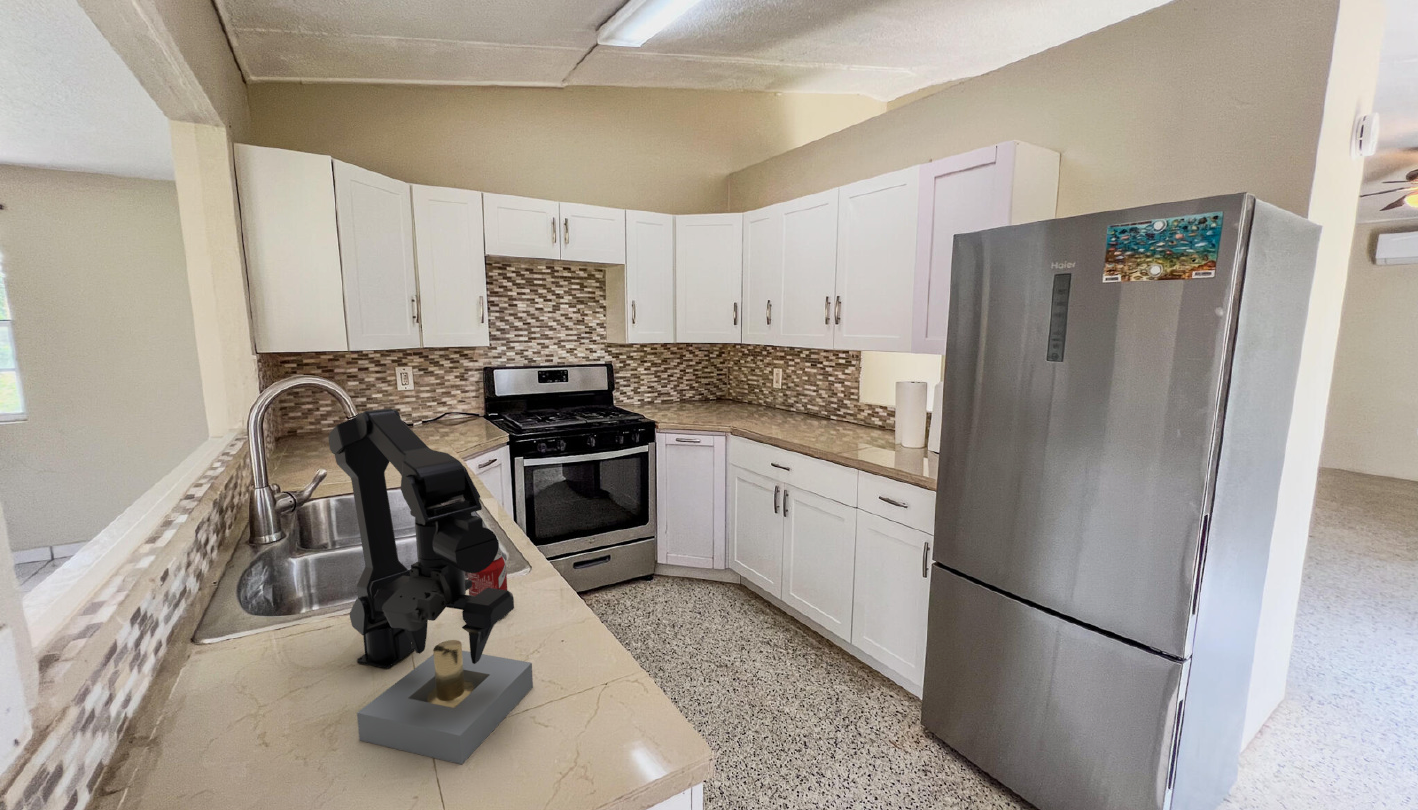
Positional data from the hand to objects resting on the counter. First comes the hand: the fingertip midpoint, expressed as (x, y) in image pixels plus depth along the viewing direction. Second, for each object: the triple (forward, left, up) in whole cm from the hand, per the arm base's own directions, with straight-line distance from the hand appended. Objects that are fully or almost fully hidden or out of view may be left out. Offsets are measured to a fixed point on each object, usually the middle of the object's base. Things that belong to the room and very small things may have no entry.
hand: (447, 657), depth 80 cm
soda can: (-12, +25, -9) cm, 29 cm away
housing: (0, 0, -8) cm, 8 cm away
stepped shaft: (0, 0, -8) cm, 8 cm away
